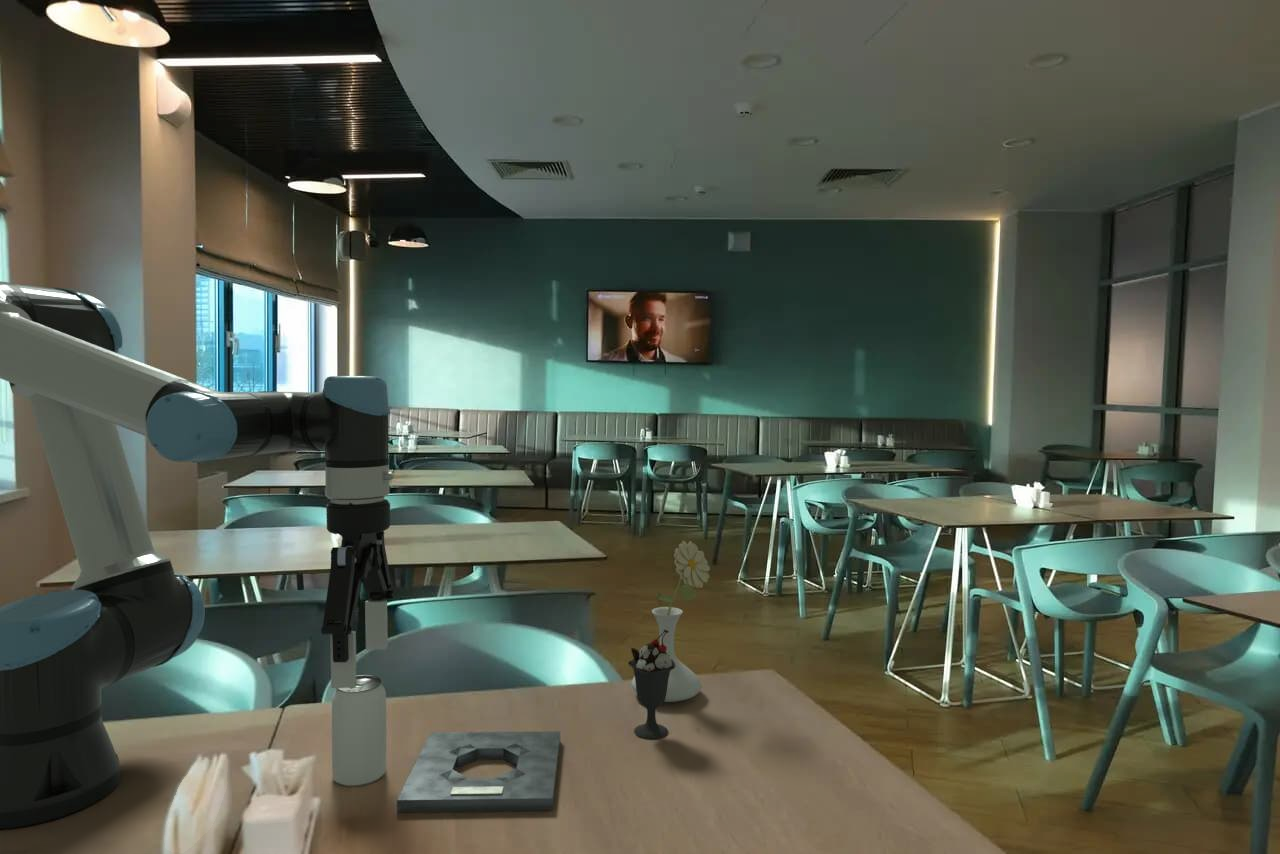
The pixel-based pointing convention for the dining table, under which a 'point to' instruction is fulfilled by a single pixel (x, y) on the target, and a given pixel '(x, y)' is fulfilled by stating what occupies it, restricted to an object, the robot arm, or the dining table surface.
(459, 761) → the socket plate
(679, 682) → the flower in vase
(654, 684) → the sundae
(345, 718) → the can
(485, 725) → the dining table surface
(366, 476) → the robot arm
